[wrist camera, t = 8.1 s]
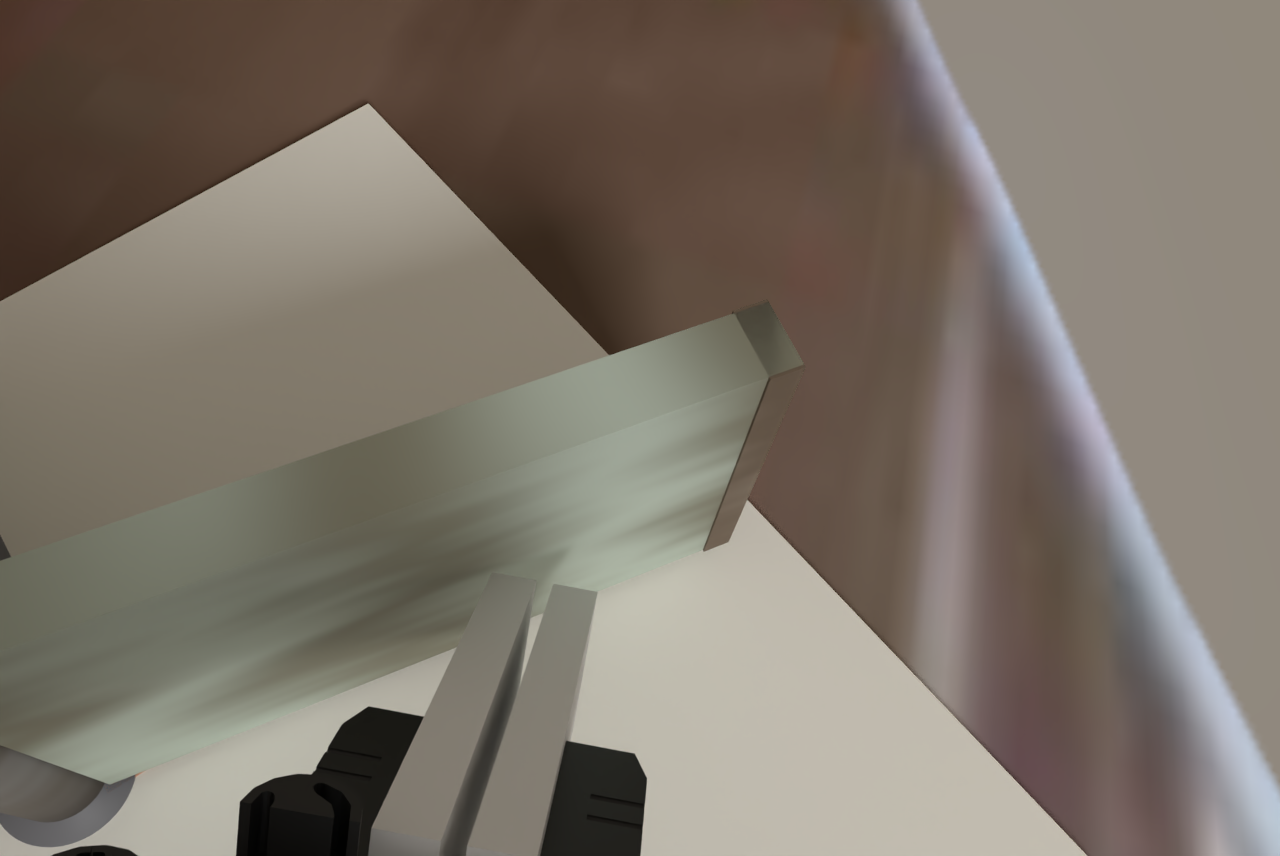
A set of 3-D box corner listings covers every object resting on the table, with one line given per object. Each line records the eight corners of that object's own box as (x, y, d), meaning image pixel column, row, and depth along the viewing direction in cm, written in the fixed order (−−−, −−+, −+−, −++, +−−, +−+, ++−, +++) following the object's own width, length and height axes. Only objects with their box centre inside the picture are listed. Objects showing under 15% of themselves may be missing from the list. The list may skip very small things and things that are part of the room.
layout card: (-575, 627, 20) (-598, 621, 20) (370, 114, 28) (367, 102, 27) (45, 2134, 13) (29, 2171, 12) (1098, 879, 20) (1109, 877, 20)
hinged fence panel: (15, 839, 19) (-290, 780, 12) (-1, 745, 19) (-298, 638, 13) (733, 551, 22) (813, 380, 15) (698, 480, 23) (759, 286, 16)
